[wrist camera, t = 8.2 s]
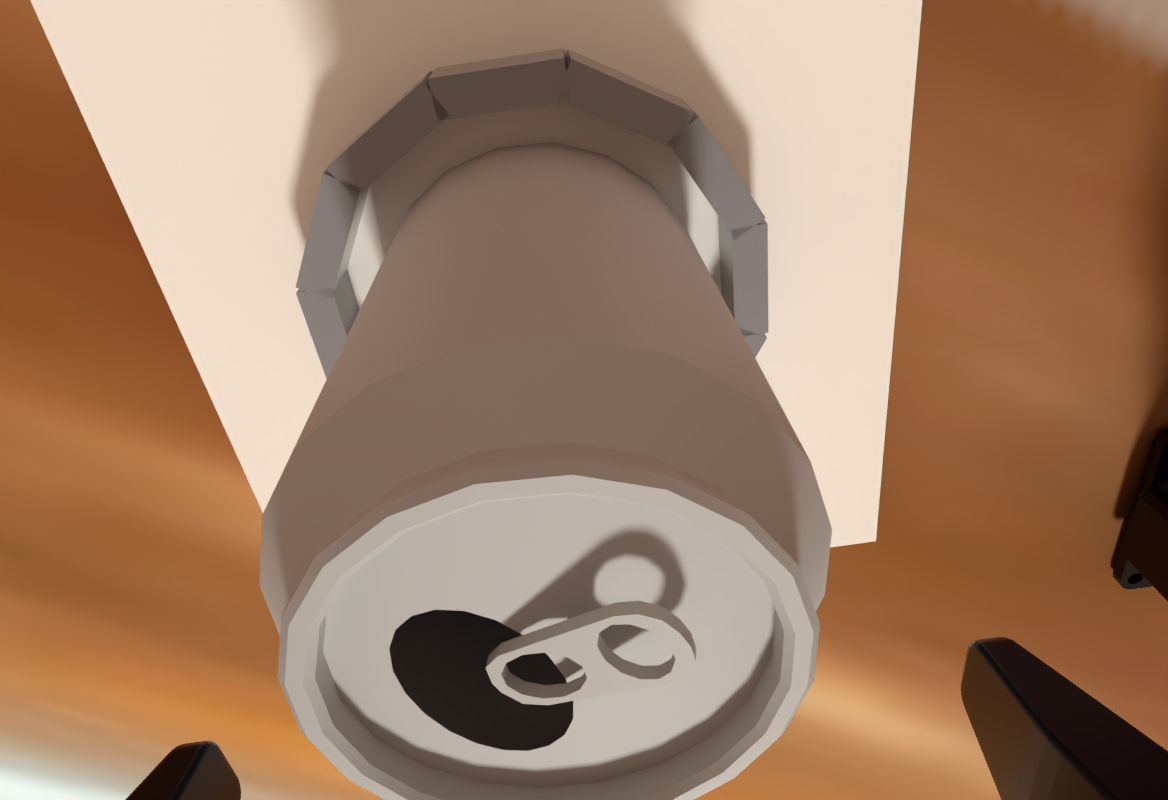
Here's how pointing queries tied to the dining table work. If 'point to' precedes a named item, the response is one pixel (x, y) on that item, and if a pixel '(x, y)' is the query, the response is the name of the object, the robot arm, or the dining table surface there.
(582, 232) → the can
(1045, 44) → the dining table surface
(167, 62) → the platter
